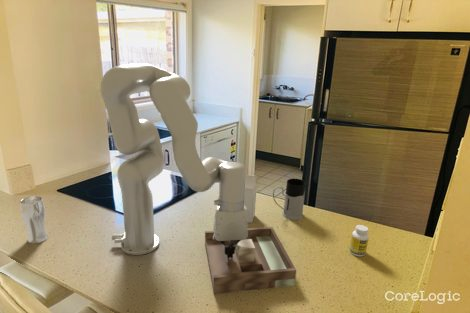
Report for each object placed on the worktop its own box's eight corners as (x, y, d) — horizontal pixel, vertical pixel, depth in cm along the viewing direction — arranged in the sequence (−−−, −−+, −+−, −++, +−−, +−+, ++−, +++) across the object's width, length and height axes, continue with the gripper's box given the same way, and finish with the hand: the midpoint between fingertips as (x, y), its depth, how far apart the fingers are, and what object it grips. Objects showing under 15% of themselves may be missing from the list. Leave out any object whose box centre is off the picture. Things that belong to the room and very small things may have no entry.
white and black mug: (306, 218, 135) (311, 185, 130) (275, 222, 131) (278, 188, 126) (297, 209, 143) (300, 177, 138) (267, 212, 139) (269, 179, 134)
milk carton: (252, 223, 129) (255, 179, 123) (234, 221, 131) (236, 177, 124) (254, 215, 136) (257, 172, 130) (237, 212, 137) (240, 170, 131)
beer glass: (54, 236, 115) (48, 198, 110) (35, 246, 109) (28, 206, 104) (40, 231, 118) (34, 193, 113) (21, 241, 112) (13, 201, 107)
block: (238, 262, 101) (239, 249, 100) (235, 253, 106) (236, 239, 104) (254, 261, 102) (255, 248, 101) (250, 252, 107) (251, 238, 105)
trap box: (213, 293, 92) (214, 277, 90) (205, 245, 114) (205, 231, 112) (294, 285, 96) (296, 270, 95) (270, 240, 119) (272, 226, 117)
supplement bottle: (357, 258, 110) (362, 233, 107) (345, 250, 115) (349, 225, 112) (368, 254, 113) (373, 229, 109) (356, 246, 117) (361, 222, 114)
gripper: (207, 210, 92) (206, 265, 98) (258, 207, 95) (255, 261, 101) (205, 198, 99) (204, 250, 105) (253, 196, 102) (249, 247, 108)
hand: (229, 255), depth 103 cm, fingers closed
